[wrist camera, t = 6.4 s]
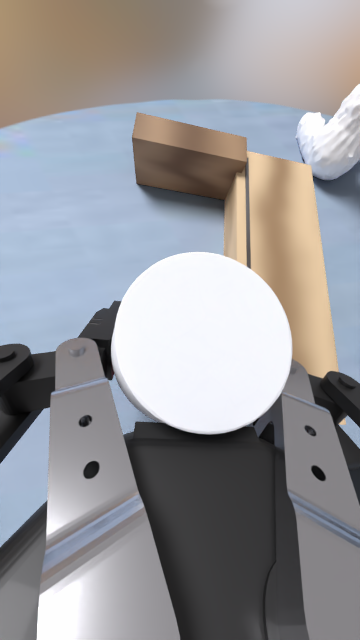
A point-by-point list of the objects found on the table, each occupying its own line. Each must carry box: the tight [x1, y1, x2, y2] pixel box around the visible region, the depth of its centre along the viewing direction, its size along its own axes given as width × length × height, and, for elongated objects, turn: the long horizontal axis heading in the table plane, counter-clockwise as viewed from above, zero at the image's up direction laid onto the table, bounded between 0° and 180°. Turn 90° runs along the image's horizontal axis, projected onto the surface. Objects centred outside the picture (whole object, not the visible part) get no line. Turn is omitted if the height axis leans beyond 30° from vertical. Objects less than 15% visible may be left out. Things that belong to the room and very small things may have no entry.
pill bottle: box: [111, 252, 292, 434], centre depth 10 cm, size 6×6×11 cm
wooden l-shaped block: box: [132, 112, 346, 425], centre depth 16 cm, size 18×24×4 cm
